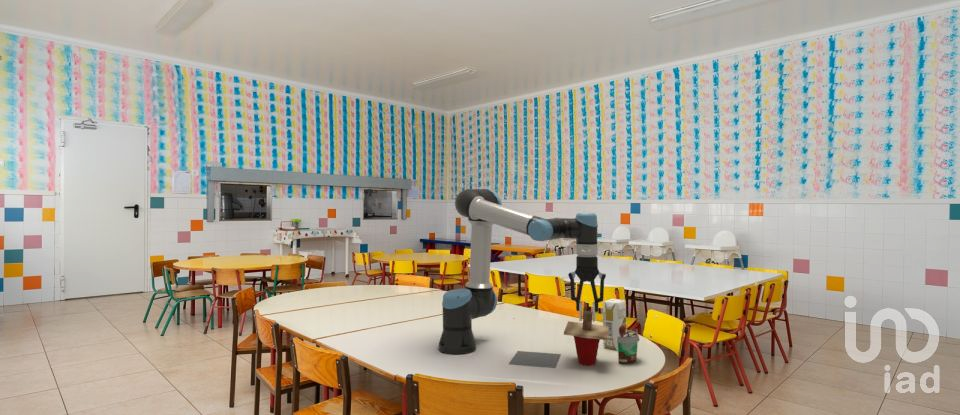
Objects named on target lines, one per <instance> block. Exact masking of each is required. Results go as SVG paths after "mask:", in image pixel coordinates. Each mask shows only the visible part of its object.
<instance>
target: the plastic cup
mask: <svg viewBox="0 0 960 415" xmlns="http://www.w3.org/2000/svg"><path fill="white" fill-rule="evenodd" d="M573 341H574V344H575V352H576V356H577V360H578V361H577V362H578V364H579V365H582V366H587V367H589V366H594V365H596V361H597V357H598V350H599V344H600V341H601V339H593V338H586V337H578V336H573Z"/></svg>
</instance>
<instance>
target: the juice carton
mask: <svg viewBox="0 0 960 415" xmlns="http://www.w3.org/2000/svg"><path fill="white" fill-rule="evenodd" d="M602 325H603V326H609V330H608V340H603V341H602V342H603V348H604V349H608V350H613V351H618V343H617V339H618V337H621V336H622V335H623V334H625V333H626V330H627V304H626V300H624V299H618V298H609V299H608V300H603V301H602Z"/></svg>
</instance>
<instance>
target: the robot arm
mask: <svg viewBox="0 0 960 415" xmlns="http://www.w3.org/2000/svg"><path fill="white" fill-rule="evenodd" d="M454 206H455V210H456V212H457V213H458V214H459V215H460V216H462V217H464V218H466V219H468V220H467V221H468V223H470V225H471V228H470V229H471V230H470V231H471V232H470V252H469V253H470V256H469V258H470V259H469V279H468V280H469V281H468V282H466V283H465V287H464V288H455V289H450V290H448V291H446V292H445V293H444V294H443V295H442V303H441V304H442V305H441V306H442V332H441V335H440V339H439V341H438V351H440V352H441V353H444V354H447V355H449V354H450V355H462V354H464V355H465V354H469V353H473V352H475V351H476V349H477V342H476V338H475V335H474V332H473V329H472V328H473V327H472V326H473V324H472V323H473V322H472V321H473V320H474V319H475V320H476V319H477V318H482V317H486V316H488V315H490V314H492V313H493V312H494V311H495V309H496V308H497V305H498V295H497V294H496V291H495V290H494V285H493V284H492V283H491V282H490V280H491V278H490V275H491V256H492V253H491V252H492V236H493V235H492V234H493V232H492V230H493V229H492V228H493V225H497V226H500V227H501V228H504V229H505V228H506V229H509V230H511V231H514V232H517V233H521V234H523V235H526V236H528V237H530V239H531V240H533V241H537V242H546V241H552V240H559V239H573V240H576V242H575V244H576V246H575V247H576V248H575V249H576V250H575V252H576V255H577V256H576V257H575V258H576V259H575V260H576V262H575V263H576V264H575V265H576V268H575V270H574V271H571V272H569V273H568V274H567V276H568V278H569V280H570V281H569V284H570V285H569V286H570V300H571V301H573V302H575V310H576V312H579V314H578V316H579V317H578V319H579V322H581V321H582V322H583V301H581V297H582V292H583V286H584V283H585V282H588V283H590V287H591V291H592V295H593V302H592V312H593V314H592V323H593V322H596V313H599V312H598V311H599V304H600V303H601V302H602V303H603V301H604V294H605V293H604V292H605V279H606V277H607V274H606V273H603V272H601V271H600V270H599V266H598V263H599V262H598V256H597V255H598V254H599V253H598V252H599V249H598V217H597V214H596V213H594V212H579V213H576V216H575V218H573V217H572V218H568V217H567V218H566V217H565V218H563V217H561V218H559V217H554V218H543V217H540V216H536V215H534V214H530V213H527V212H524V211H521V210H517V209H514V208H512V207H508V206H505V205H502V198H501V197H500V196H499V194H498V193H497V192H496V191H494V190H492V189H486V188H467V189H463V190H461V191H460V192H459V193H458V194H457V195H456V198H455V201H454ZM576 276H577V277H578V280H579V283H578V284H579V285H578V288H577V295H576V291H575V290H576V289H575V278H576ZM597 277H599V279H600V285H599V296H598V291H597V288H596V282H595V279H597ZM575 295H576V296H575Z"/></svg>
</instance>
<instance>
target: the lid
mask: <svg viewBox="0 0 960 415" xmlns="http://www.w3.org/2000/svg"><path fill="white" fill-rule="evenodd" d="M608 330H609V326H603V324H601V325H600V324H594V323H593V311H588V310H584V311H583V313H582V322H578V321H577V322H575V321H567V323H566V325H565V329H564V331H563V335H564V336H571V337H574V336H578V337H586V338H593V339H600V341H601V340H608Z"/></svg>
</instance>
